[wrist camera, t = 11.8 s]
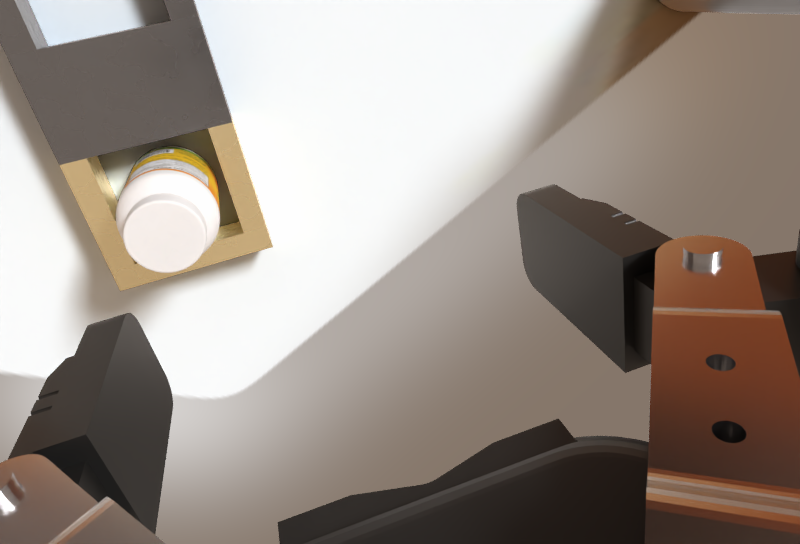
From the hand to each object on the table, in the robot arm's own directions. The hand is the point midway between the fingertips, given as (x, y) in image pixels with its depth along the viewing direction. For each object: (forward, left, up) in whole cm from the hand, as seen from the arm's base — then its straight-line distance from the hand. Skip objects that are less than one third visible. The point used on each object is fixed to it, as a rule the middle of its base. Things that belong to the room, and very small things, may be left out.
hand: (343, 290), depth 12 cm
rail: (+7, -3, -29) cm, 29 cm away
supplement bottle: (+6, +4, -29) cm, 30 cm away
